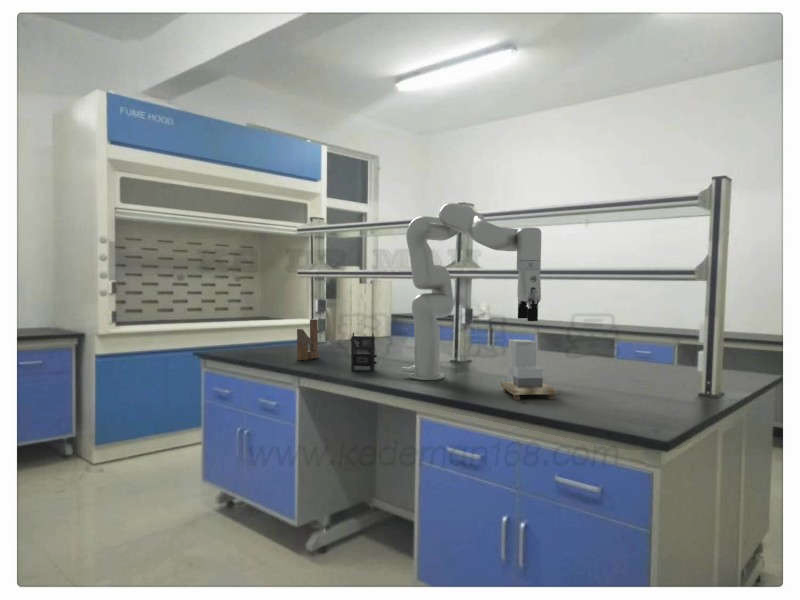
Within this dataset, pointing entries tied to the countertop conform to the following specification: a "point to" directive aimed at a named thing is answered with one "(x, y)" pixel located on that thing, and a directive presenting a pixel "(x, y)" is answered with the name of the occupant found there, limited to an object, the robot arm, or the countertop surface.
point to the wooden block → (308, 342)
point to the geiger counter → (363, 353)
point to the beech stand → (528, 390)
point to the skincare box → (520, 355)
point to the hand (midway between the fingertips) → (527, 319)
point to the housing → (527, 376)
